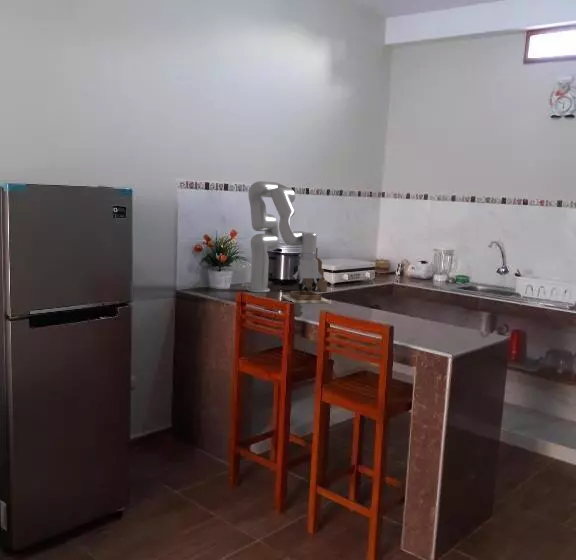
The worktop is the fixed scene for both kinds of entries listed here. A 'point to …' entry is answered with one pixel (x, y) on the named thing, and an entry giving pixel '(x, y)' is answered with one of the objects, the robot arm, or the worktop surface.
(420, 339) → the worktop surface
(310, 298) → the jig
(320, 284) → the wooden toy
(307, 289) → the eagle figurine
